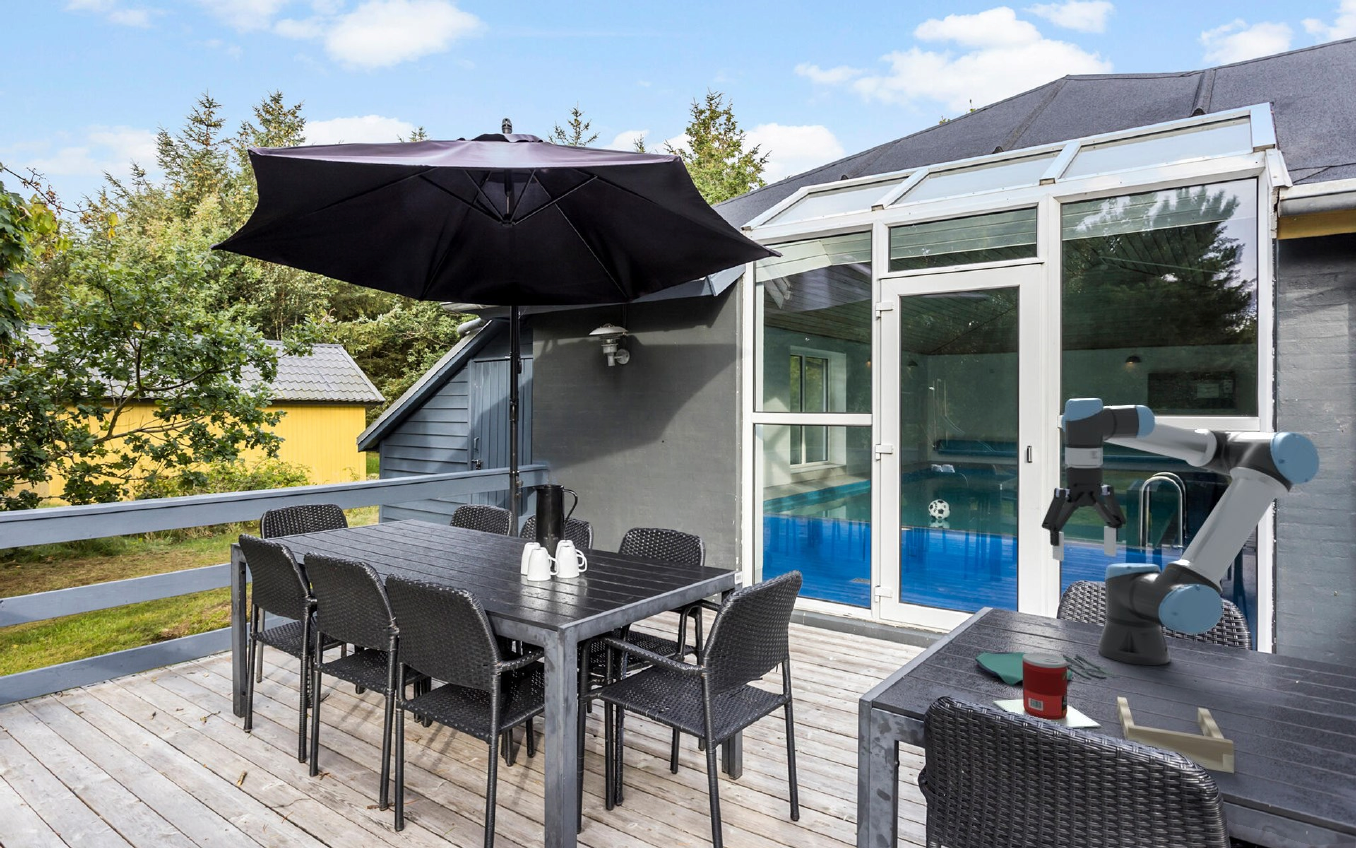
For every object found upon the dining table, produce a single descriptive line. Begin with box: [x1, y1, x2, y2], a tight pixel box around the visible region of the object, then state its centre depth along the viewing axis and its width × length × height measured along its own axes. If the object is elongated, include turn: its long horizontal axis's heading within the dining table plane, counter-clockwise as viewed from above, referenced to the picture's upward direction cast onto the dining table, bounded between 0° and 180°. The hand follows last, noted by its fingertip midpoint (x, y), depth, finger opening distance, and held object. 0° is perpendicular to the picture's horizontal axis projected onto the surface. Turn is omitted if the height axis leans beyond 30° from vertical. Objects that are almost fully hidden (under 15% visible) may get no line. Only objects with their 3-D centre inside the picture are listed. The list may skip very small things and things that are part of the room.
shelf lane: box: [1116, 696, 1235, 774], centre depth 134 cm, size 22×15×5 cm
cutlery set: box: [974, 651, 1120, 686], centre depth 171 cm, size 20×30×2 cm, turn 95°
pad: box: [993, 698, 1101, 729], centre depth 146 cm, size 14×14×1 cm
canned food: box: [1022, 652, 1068, 720], centre depth 146 cm, size 8×8×11 cm
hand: (1084, 557), depth 166 cm, fingers open, 13 cm apart
